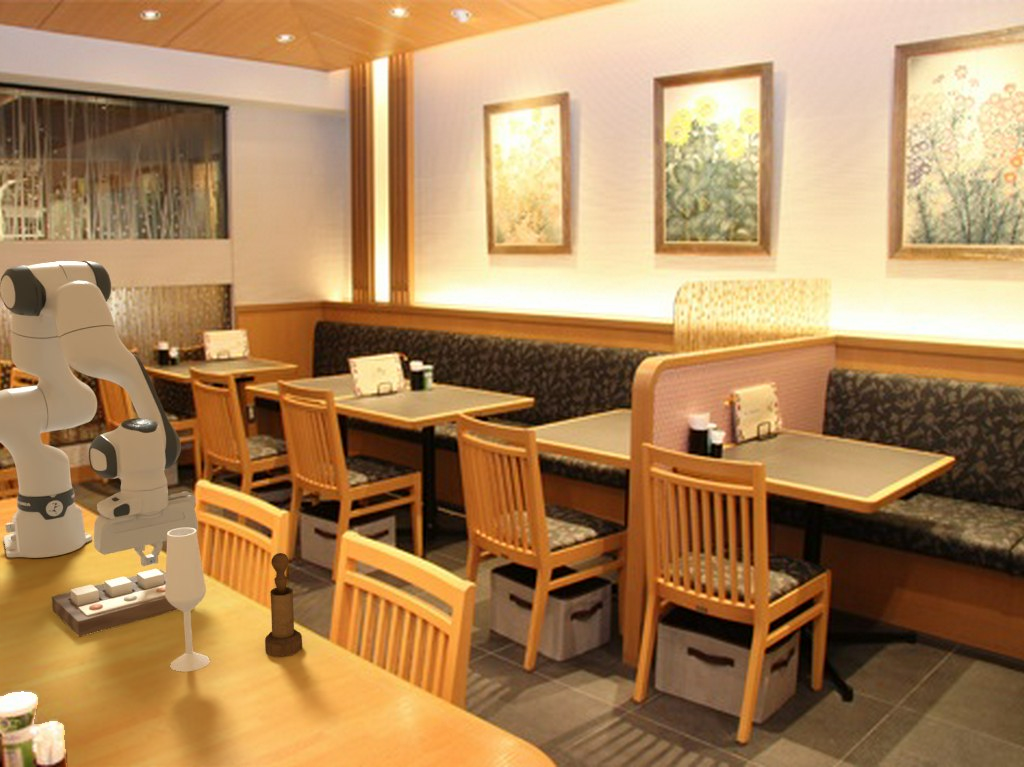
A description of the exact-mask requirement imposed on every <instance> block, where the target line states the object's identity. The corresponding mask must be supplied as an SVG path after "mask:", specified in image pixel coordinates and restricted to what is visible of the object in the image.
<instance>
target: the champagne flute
mask: <svg viewBox="0 0 1024 767" xmlns="http://www.w3.org/2000/svg"><path fill="white" fill-rule="evenodd" d="M165 559H166V560H165V573H166V583H165V597H166V599H167V600H168V602H169V603H170V604H171V605H172V606H174V607H175V608H177V609H178V610H177V611H181V612H182V613H183V614H182V615H183V628H184V629H183V630H184V645H185V653H183V654H181V655H180V656H178V657H177V658H175V659H173V662H172V661H171V663H170V664H171V665H170V664H169V667H170V669H171V670H173V671H175V670H176V672H180V671H181V672H183V673H187V672H194V671H198V670H200V669H203V668H205V667H206V666H208V665H210V664H209V663H210V661H211V660H209V659H210V657H209V656H207V655H205V654H201V653H199V652H196V651H194V648H193V645H194V644H193V632H192V615H191V612H192V611H193V610H194V609H195V608H196V607H197V606H198V605H199V604H200V603H201V602H202V601H203V599H204V598H205V595H206V592H207V588H206V582H205V576H204V570H203V564H202V558H201V551H200V544H199V538H198V531H197V532H196V529H194V528H177V529H173V530H170V531H169V532H168V533H167V541H166V558H165ZM208 657H209V658H208ZM204 666H205V667H204ZM181 672H180V673H181Z"/></svg>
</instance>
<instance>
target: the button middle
mask: <svg viewBox="0 0 1024 767" xmlns="http://www.w3.org/2000/svg"><path fill="white" fill-rule="evenodd" d="M127 578H128V577H126V576H120V577H116V578H112V579H108V580H104V583H105V594H106V595H108V596H109V597H110V598H112V597H116V596H120V595H124V594H127V593H131V592H133V591H132V582H131V581H130V580H129V579H127ZM104 583H103V584H104Z"/></svg>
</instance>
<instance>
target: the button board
mask: <svg viewBox="0 0 1024 767" xmlns="http://www.w3.org/2000/svg"><path fill="white" fill-rule="evenodd" d="M158 570H159V571H160V572H162V573H163V574H164V584H163V585H165V583H166V571H163V569H158ZM126 578H127V579H129V580H130V581H131V582H132V591H133V592H131V593H135V592H139V591H143V590H147V589H151V588H155V587H158V586H155V587H151V588H147V589H142V588H141V587H139V586H138V583H137V575H134V576H130V577H126ZM93 586H94V587H95V588H97V589H98V590H99V601H96V602H100V601H104V600H108V599H112V598H116V597H120V596H123V595H120V596H116V597H112V598H110V597H109V596H108V595H106V594H105V583H100V584H97V585H93ZM159 586H162V585H159ZM131 593H127V594H131ZM127 594H124V595H127ZM96 602H92V603H96ZM92 603H88V604H92ZM51 604H52V606H51V608H52V611H53V613H54V614H55V615H57V617H59V618H60V619H61V620H62V621H63V622H64V623H65V624H66V626H68V628H70V629H71V630H72V631H73V632H74V633H75V634H76V635H77V636H78V637H79V636H80V637H83V635H84V636H87V634H88V635H90V633H91V634H94V632H95V633H98V632H101V630H102V631H105V629H106V630H109V629H113V628H115V627H120V626H123V625H127V624H131V623H134V622H137V621H141V620H145V619H149V618H153V617H156V616H159V615H163V614H167V613H170V611H171V612H174V611H178V610H177V608H175V607H174V606H172V605H171V604H170V603H169V602H168V600H167V599H166V597H165V596H163V597H159V598H155V599H152V600H148V601H144V602H140V603H137V604H133V605H129V606H125V607H121V608H118V609H114V610H110V611H106V612H102V613H99V614H95V615H91V616H86V615H85V614H84V613H83V612H82V611H80V610H79V609H78V607H81V606H84V605H81V606H77V607H76V606H75V605H74V604H73V603H72V601H71V591H68V592H65V593H61V594H57V595H52V596H51ZM88 604H85V605H88ZM97 631H98V632H97Z"/></svg>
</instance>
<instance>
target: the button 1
mask: <svg viewBox="0 0 1024 767" xmlns="http://www.w3.org/2000/svg"><path fill="white" fill-rule="evenodd" d="M94 586H95V585H93V584H92V583H91V584H88V585H84V586H83V585H82V586H79V587H76V588H71V589H70V592H71V601H72V603H73V604H74V605H75V606H76V607H77V606H81V605H85V604H88V603H92V602H96V601H99V590H98V589H97V588H95V587H94Z"/></svg>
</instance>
